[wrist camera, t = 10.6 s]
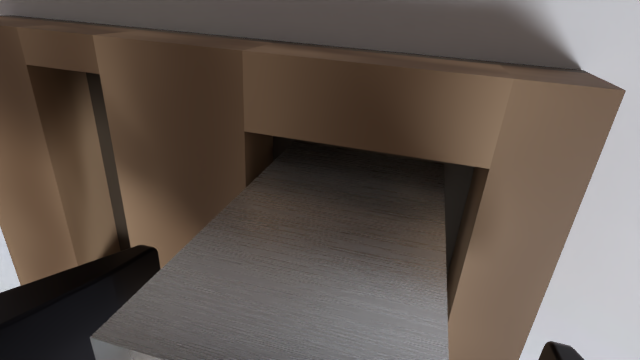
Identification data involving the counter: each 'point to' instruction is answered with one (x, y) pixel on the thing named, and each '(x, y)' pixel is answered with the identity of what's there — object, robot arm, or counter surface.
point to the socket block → (276, 136)
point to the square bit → (303, 270)
